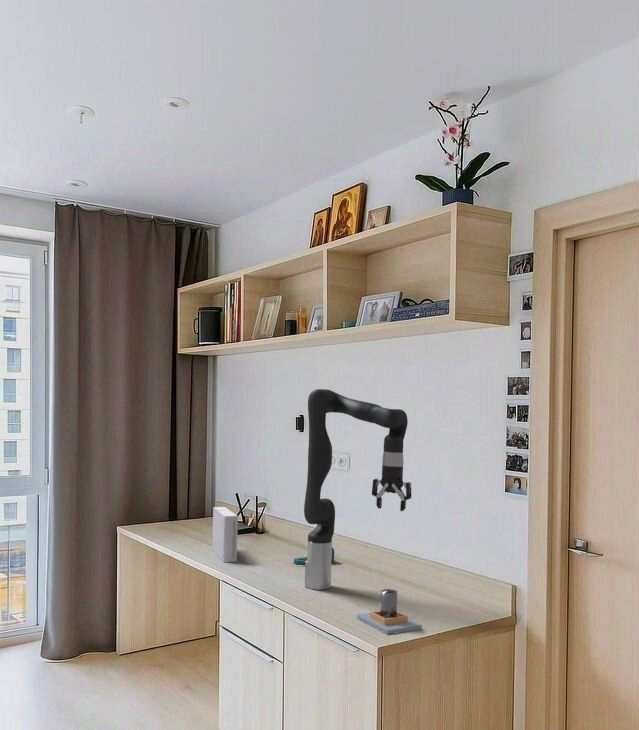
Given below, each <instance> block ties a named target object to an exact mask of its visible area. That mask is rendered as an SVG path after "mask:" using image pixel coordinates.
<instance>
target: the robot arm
mask: <svg viewBox="0 0 639 730" xmlns="http://www.w3.org/2000/svg"><path fill="white" fill-rule="evenodd" d="M307 413H308V415H307V416H308V448H307V449H308V450H307V451H308V452H307V453H308V454H307V479H306V489H305V497H304V504H303V513H304V515H303V516H304V518H305V522H306V523H308V525H316V527H315V528H314V529H313V530H312V531H310V532H309V533H308V535H307V557H308V558H307V561H306V562H305V566H304V588H305V587H306V588H308V589H311V590H318V591H319V590H322V591H323V590H327V589H331V588H332V563H331V559H332V547H333V544H332V543H333V537H334V534H335V524H336V523H335V520H336V507H335V504H334V502H333V501H332V499H331V498H321V494H322V493H321V491H322V487H323V484H324V482H325V481H326V478H327V476H328V475H329V473H330V470H331V467H332V465H333V464H332V463H333V446H332V442H331V440H330V436H329V435H328V431H327V430H328V429H327V425H326V419H327V417H326V416H327V414H329V413H338V414H343V415H344V414H345V415H348V416H350V417H352V418H354V419H357V420H359V421H362V422H366V423H371V424H375V425H377V426H380V427H383V428H386V429H389V430H388V434H387V435H386V436H384V439H383V454H382V462H381V463H382V466H381V479H378V478H374V479H373V480H372V487H371V495H372V496H374V497H376V502H375V504H376V507H377V509H382V508H383V507H382V504H383V503H382V502H383V498H382V497H383V496H384V494H385V493H387V494H389V493H392V494H397V496H398V497H399V498H400V506H399V507H400V509H399V511H400V512H404V511H405V510H406V509H407V508H406V507H407V506H406V505H407V500H410V499H412V482H411V481H408V482H404V481H403V479H404V478H403V477H404V475H403V474H404V440H405V436H406V432H407V428H408V423H409V422H408V421H409V420H408V415H407V413H406V412H405V411H404V410H403V409H400V408H388V407H387V408H386V407H382V406H381V405H379V404H377V403H372V402H367V401H363V400H357V399H353V398H349V397H347V396H344V395H341V394H340V393H338V392H335V391H333V390H330V389H326V388H325V389H324V388H317V389H313V390H312V391H311V392H310V393H309V395H308V398H307ZM379 485H381V489H380V490H379V491H378V488H379ZM403 486H404V489H405V493H404V491H403V489H402V488H403Z"/></svg>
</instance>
